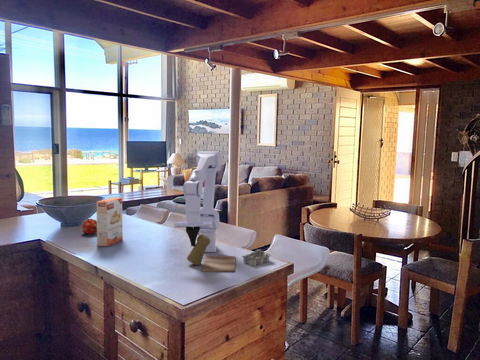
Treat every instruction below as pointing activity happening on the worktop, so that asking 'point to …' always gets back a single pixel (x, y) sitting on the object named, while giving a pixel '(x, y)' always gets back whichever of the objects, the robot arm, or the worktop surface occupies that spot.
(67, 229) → the worktop surface
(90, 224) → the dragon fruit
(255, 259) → the egg carton
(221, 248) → the worktop surface
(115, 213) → the cracker box
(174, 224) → the robot arm
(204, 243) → the cork
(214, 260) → the board
